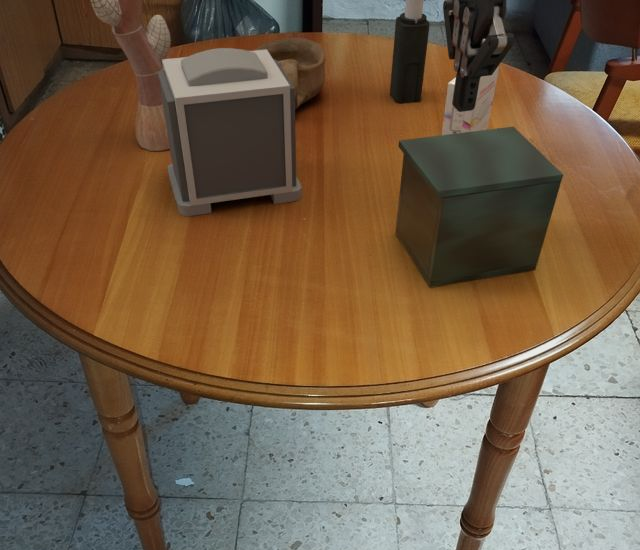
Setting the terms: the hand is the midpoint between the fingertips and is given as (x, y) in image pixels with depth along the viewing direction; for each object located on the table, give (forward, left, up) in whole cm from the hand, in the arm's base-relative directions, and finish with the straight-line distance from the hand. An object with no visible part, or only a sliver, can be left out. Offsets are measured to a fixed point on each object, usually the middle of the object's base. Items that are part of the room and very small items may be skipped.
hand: (462, 108), depth 77 cm
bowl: (+23, -48, -20) cm, 57 cm away
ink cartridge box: (-6, -30, -20) cm, 37 cm away
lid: (-3, -1, -7) cm, 8 cm away
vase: (+45, -31, -20) cm, 58 cm away
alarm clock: (+30, -17, -20) cm, 39 cm away
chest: (-3, -1, -20) cm, 20 cm away
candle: (+2, -51, -20) cm, 55 cm away
